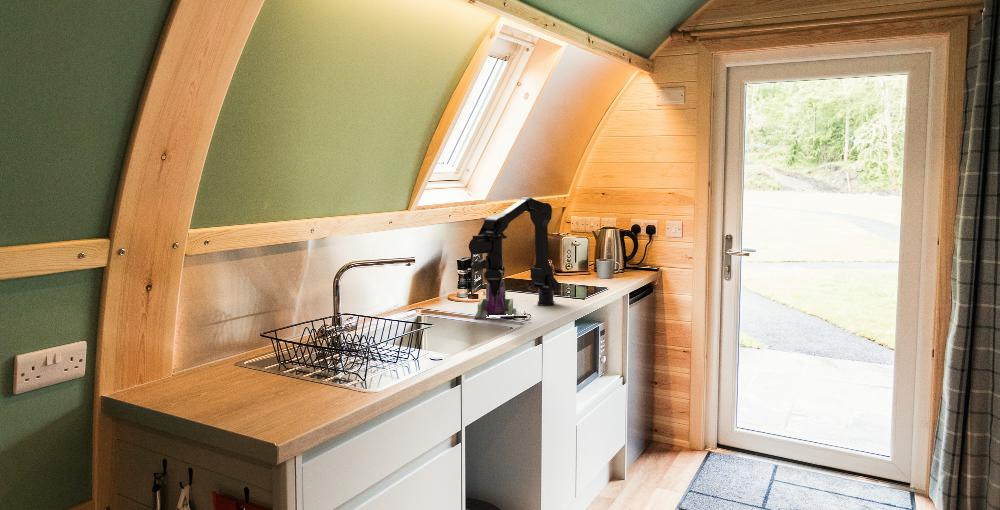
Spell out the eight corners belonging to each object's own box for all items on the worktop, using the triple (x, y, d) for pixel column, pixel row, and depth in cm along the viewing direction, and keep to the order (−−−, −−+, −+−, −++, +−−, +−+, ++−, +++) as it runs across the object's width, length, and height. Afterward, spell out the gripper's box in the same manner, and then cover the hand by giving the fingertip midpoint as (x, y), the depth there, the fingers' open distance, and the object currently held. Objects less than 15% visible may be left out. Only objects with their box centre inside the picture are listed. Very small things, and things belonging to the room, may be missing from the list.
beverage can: (502, 315, 281) (501, 282, 279) (483, 314, 283) (483, 281, 281) (508, 311, 287) (507, 279, 286) (489, 310, 289) (489, 278, 288)
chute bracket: (479, 310, 294) (478, 297, 293) (516, 310, 293) (515, 297, 292) (474, 319, 279) (474, 305, 279) (513, 319, 278) (513, 306, 277)
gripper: (475, 248, 292) (476, 289, 294) (469, 255, 273) (470, 299, 275) (505, 248, 291) (505, 289, 293) (501, 255, 272) (501, 299, 275)
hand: (495, 294), depth 284 cm, fingers open, 9 cm apart
